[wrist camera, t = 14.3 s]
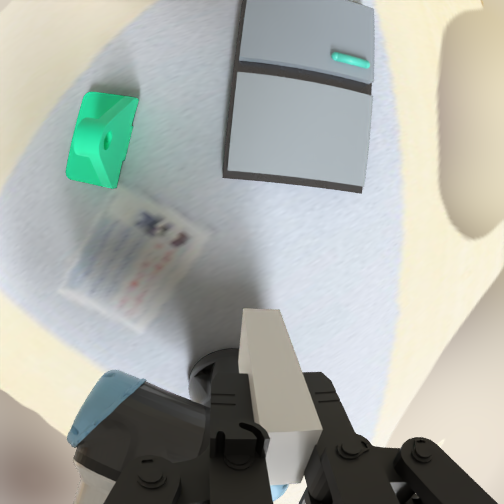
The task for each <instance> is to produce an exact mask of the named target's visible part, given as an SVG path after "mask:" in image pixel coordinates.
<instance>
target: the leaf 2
mask: <svg viewBox="0 0 504 504" xmlns="http://www.w3.org/2000/svg"><path fill="white" fill-rule="evenodd" d="M372 102H373V96H371V95H367V94H363V93H359V92H355V91H351V90H347V89H343V88H339V87H334V86H329V85H325V84H320V83H314V82H309V81H304V80H298V79H292V78H285V77H278V76H271V75H263V74H255V73H245V72H238V73H237V81H236V90H235V99H234V108H233V118H232V128H231V138H230V148H229V159H228V169H227V170H228V171H241V172H252V173H262V174H272V175H282V176H290V177H299V178H307V179H315V180H322V181H330V182H337V183H343V184H350V185H357V186H363V187H364V184H365V176H366V168H367V159H368V150H369V140H370V129H371V116H372Z"/></svg>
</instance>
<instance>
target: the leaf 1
mask: <svg viewBox="0 0 504 504" xmlns="http://www.w3.org/2000/svg"><path fill="white" fill-rule="evenodd" d="M239 61H248V62H257V63H265V64H273V65H280V66H287V67H293V68H299V69H304V70H310V71H315V72H320V73H325V74H329V75H334V76H338V77H343V78H347V79H351V80H355V81H359V82H362V83H366V84H370V83H372V82H374V9H373V8H370V7H367V6H364V5H361V4H358V3H354V2H351V1H347V0H247V2H246V9H245V17H244V24H243V32H242V40H241V48H240V56H239Z"/></svg>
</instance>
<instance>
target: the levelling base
mask: <svg viewBox="0 0 504 504" xmlns="http://www.w3.org/2000/svg"><path fill="white" fill-rule="evenodd" d="M246 2H247V0H243V3H242V10H241V17H240V24H239V31H238V39H237V47H236V55H235V63H234V71H233V80H232V88H231V97H230V106H229V116H228V125H227V135H226V146H225V156H224V167H223V178H230V179H243V180H254V181H265V182H275V183H284V184H293V185H302V186H310V187H318V188H326V189H334V190H341V191H348V192H355V193H361V194H362V187H363V186H357V185H350V184H343V183H337V182H330V181H322V180H315V179H307V178H299V177H290V176H282V175H272V174H262V173H252V172H241V171H228V170H227V169H228V159H229V148H230V138H231V128H232V118H233V108H234V99H235V90H236V81H237V73H238V72H245V73H255V74H263V75H271V76H278V77H285V78H292V79H298V80H304V81H309V82H314V83H320V84H325V85H329V86H334V87H339V88H343V89H347V90H351V91H355V92H359V93H363V94H367V95H371V87H372V83H370V84H366V83H362V82H359V81H355V80H351V79H347V78H343V77H338V76H334V75H329V74H325V73H320V72H315V71H310V70H304V69H299V68H293V67H287V66H280V65H273V64H265V63H257V62H248V61H239V56H240V48H241V40H242V32H243V24H244V17H245V9H246Z"/></svg>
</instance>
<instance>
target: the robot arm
mask: <svg viewBox="0 0 504 504" xmlns="http://www.w3.org/2000/svg"><path fill="white" fill-rule="evenodd" d="M146 381H147V380H145V379H139V378H136V377H134V376H132V375H129V374H127V373H125V372H122V371H119V370H110V371H108V372H106V373H105V374H104V375H103V376H102V377H101V378H100V379H99V381H98V382H97V383H96V385H95V386H94V388H93V389H92V391H91V392H90V394H89V395H88V397H87V399H86V400H85V402H84V404H83V405H82V407H81V409H80V411H79V412H78V414H77V416H76V418H75V420H74V422H73V425H72V427H71V430H70V431H69V433H68V436H67V441H68V443H70V444H71V446H72V447H74V448H76V447H77V450H76V453H75V456H74V458H73V463H74V464H75V467H76V469H77V470H78V472H79V474H80V478H81V480H80V483H79V486H78V489H77V492H76V496H75V500H74V503H73V504H273V501H275V500H277V499H278V498H279V497H281V496H282V495H283V494H284V493H285V491H286V490H287V488H288V485H289V484H296V483H301V481H302V478H303V476H304V475H305V479H306V483H307V488H306V490H305V492H304V494H303V496H302V498H301V500H300V502H299V504H305V503H306V504H498V503H497V502H496V501H495V500H494V499H493V498H491V497H490V496H489V495H488V494H487V493H486V492H485V491H484V490H483V489H482V488H481V487H480V486H479V485H478V484H477V483H476V482H475V481H474V480H473V479H472V478H471V477H470V476H469V475H468V474H467V473H466V472H465V471H464V470H463V469H461V468H460V467H459V466H458V465H457V464H456V463H455V462H454V461H453V460H452V459H451V458H450V457H449V456H448V455H447V454H446V453H445V452H444V451H443V450H442V449H441V448H440V447H439V446H438V445H437V444H435V443H434V442H433V441H431V440H429V439H426V438H423V437H422V438H421V437H415V438H412V439H409V440H407V441H406V442H405V443H404V444H403V445H402V447H401V448H382V447H375V446H372V445H371V443H370V442H369V441H368V440H367V439H366V438H364V437H363V436H361V435H358V434H356V433H355V432H354V429H353V427H352V425H351V423H350V421H349V419H348V416H347V414H346V412H345V410H344V408H343V406H342V403H341V402H340V399H339V397H338V395H337V393H336V390H335V388H334V386H333V384H332V382H331V380H330V379H329V378H327V377H326V376H325V375H324V374H323V373H322V372H304V373H302V370H301V368H300V365H299V362H298V359H297V356H296V354H295V351H294V348H293V345H292V343H291V340H290V337H289V334H288V332H287V329H286V326H285V323H284V321H283V318H282V315H281V313H280V310H274V309H250V308H243V316H242V327H241V337H240V348H239V349H224V350H220V351H216V352H213V353H211V354H209V355H207V356H205V357H204V358H202V359H201V360H200V361H199V362H198V363H197V364H196V365H195V366H194V368H193V370H192V372H191V374H190V380H189V395H190V398H191V400H189V399H186V398H184V397H181V396H179V395H176V394H174V393H171V392H169V391H167V390H164V389H162V388H159V387H157V386H155V385H153V384H150V383H148V382H146ZM415 493H416V494H417V495H416V494H415Z"/></svg>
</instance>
